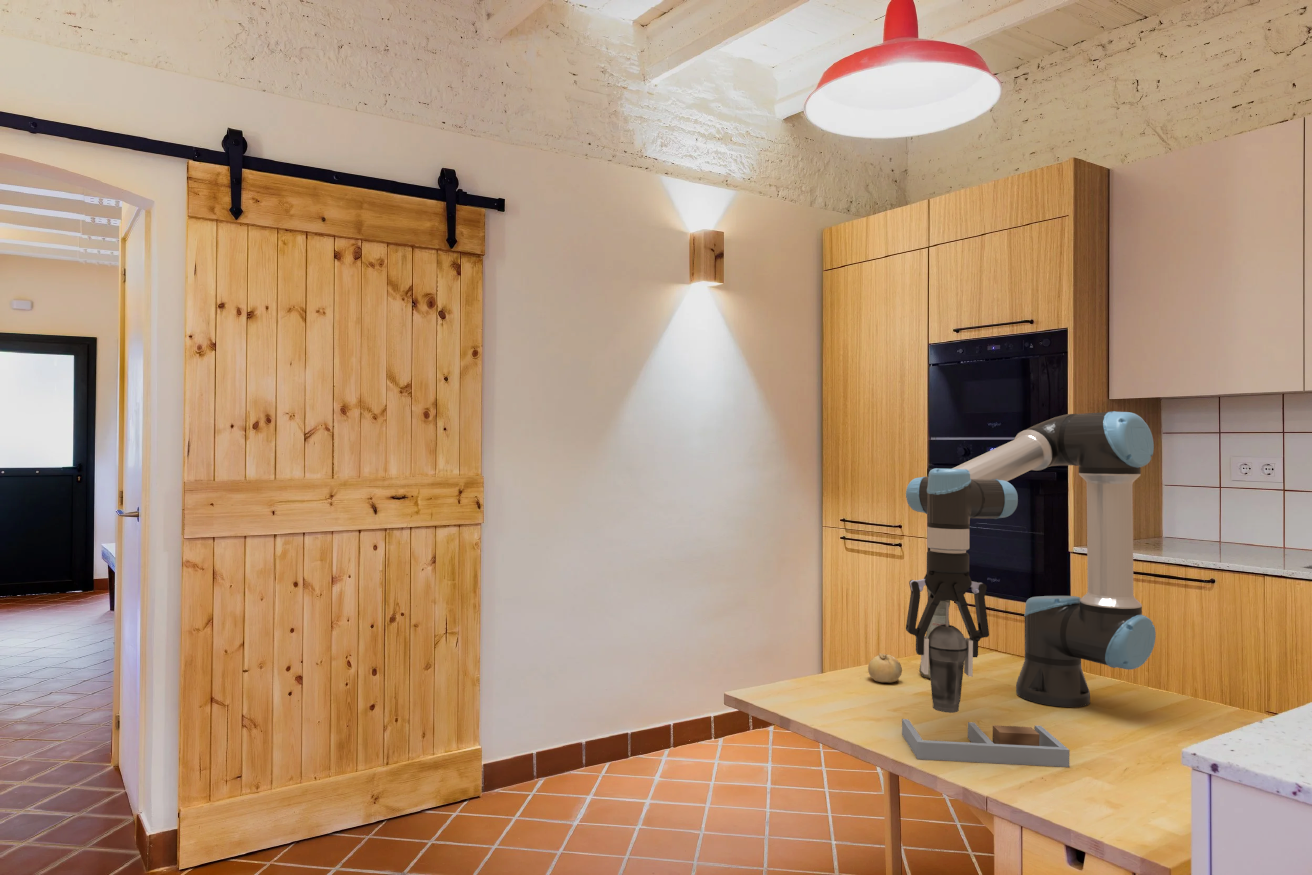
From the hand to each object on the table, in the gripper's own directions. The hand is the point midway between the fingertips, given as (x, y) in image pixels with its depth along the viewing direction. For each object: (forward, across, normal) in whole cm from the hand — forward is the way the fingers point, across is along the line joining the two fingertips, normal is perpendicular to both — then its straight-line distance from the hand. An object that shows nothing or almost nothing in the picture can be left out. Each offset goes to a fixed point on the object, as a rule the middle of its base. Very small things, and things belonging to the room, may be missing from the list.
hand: (946, 673), depth 150 cm
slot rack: (+14, -6, 0) cm, 15 cm away
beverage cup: (+7, 0, 0) cm, 7 cm away
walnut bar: (+14, -13, 0) cm, 19 cm away
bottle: (+14, -11, -51) cm, 54 cm away
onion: (+14, +3, -45) cm, 47 cm away
